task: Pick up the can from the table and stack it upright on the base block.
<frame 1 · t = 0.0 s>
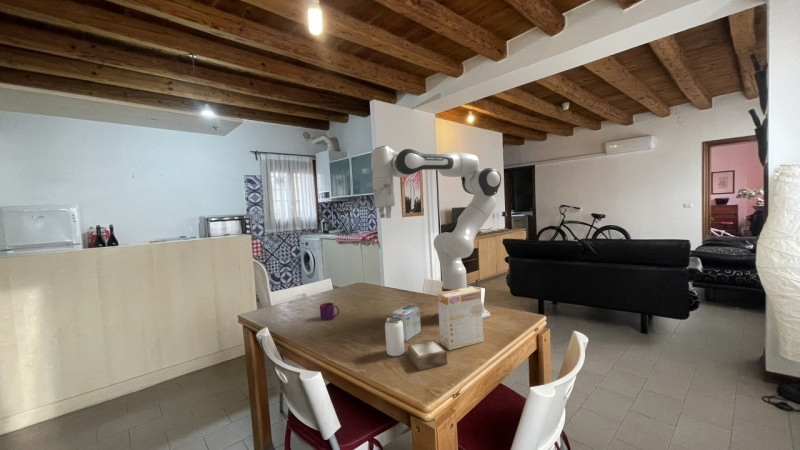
hand: (385, 218, 131), 48 cm above the table, tool pointing down, fingers open, 8 cm apart
base block: (427, 360, 103), on the table
light bulb box: (407, 335, 126), on the table
can: (395, 353, 110), on the table
coffeecake box: (462, 343, 115), on the table
mug: (330, 318, 152), on the table
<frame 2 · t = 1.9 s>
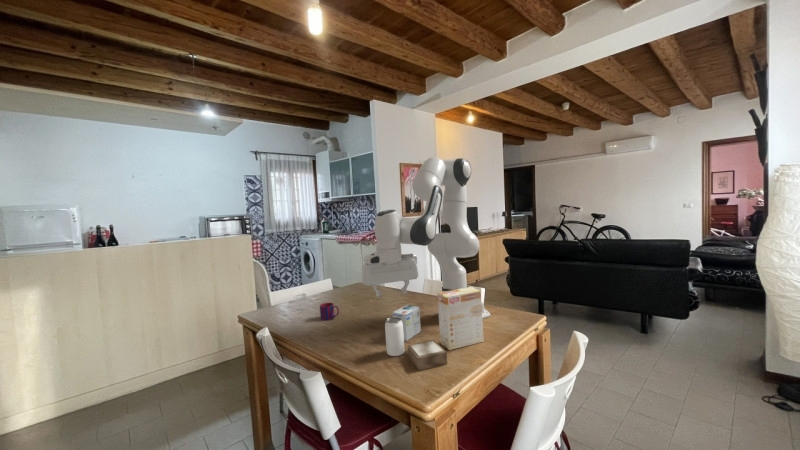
hand: (391, 294, 109), 21 cm above the table, tool pointing down, fingers open, 8 cm apart
nothing on the table moved.
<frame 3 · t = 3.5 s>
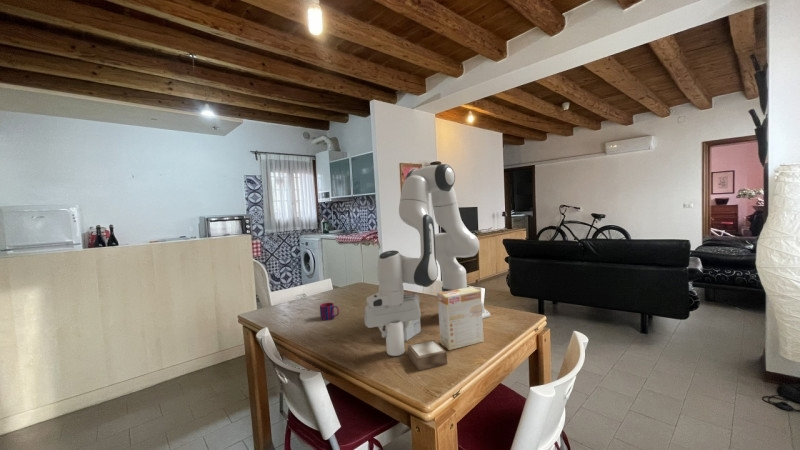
hand: (394, 335, 110), 6 cm above the table, tool pointing down, fingers closed on can, 6 cm apart
can: (395, 353, 110), on the table, touching gripper
everything else where it was.
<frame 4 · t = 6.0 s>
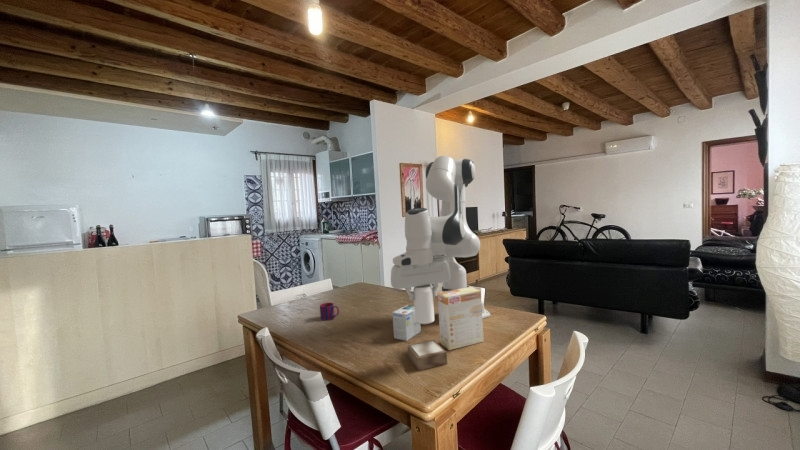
hand: (422, 298, 103), 21 cm above the table, tool pointing down, fingers closed on can, 6 cm apart
can: (425, 321, 103), point 13 cm above the table, touching gripper
everything else where it was.
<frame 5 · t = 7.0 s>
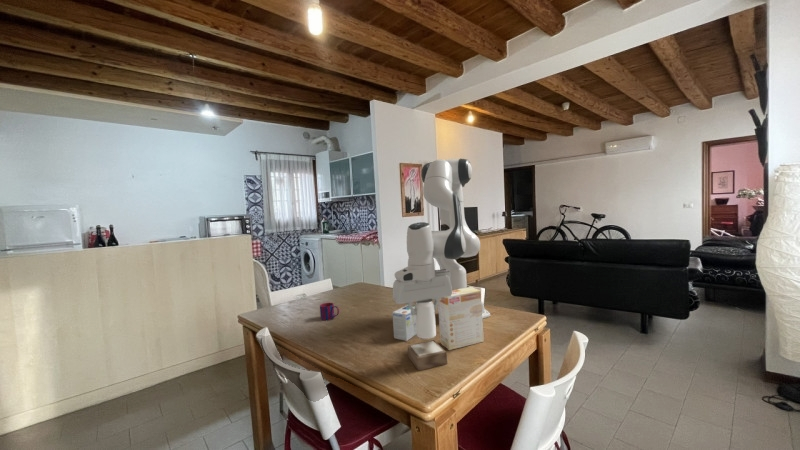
hand: (424, 312, 102), 16 cm above the table, tool pointing down, fingers closed on can, 6 cm apart
can: (426, 336, 103), point 8 cm above the table, touching gripper
everything else where it was.
when the fingers open (12 cm above the table, at t = 8.3 s): can stays where it is, resting on base block.
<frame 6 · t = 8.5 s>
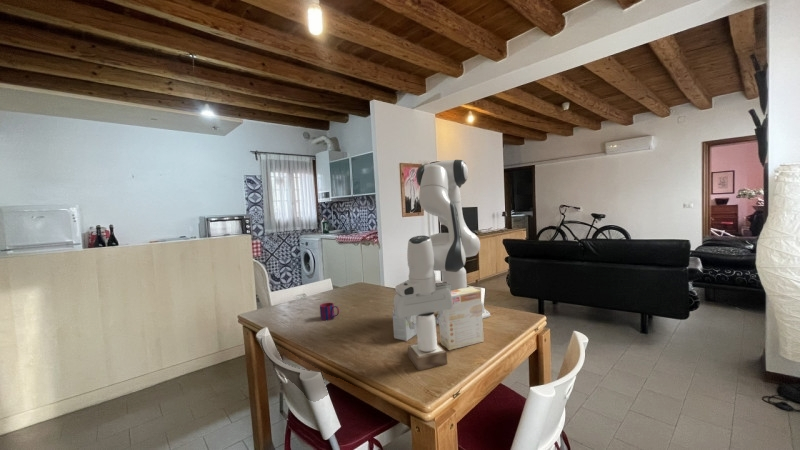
hand: (424, 326, 103), 12 cm above the table, tool pointing down, fingers open, 8 cm apart
can: (427, 348, 103), point 4 cm above the table, touching base block
everything else where it was.
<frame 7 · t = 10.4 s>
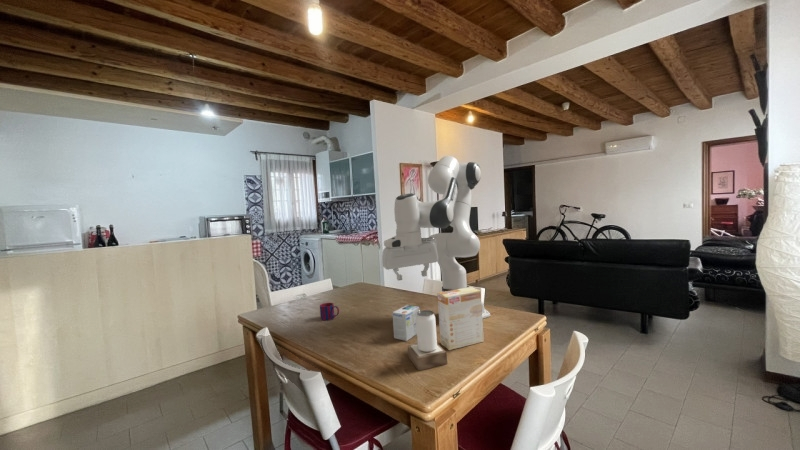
hand: (412, 278, 110), 26 cm above the table, tool pointing down, fingers open, 8 cm apart
nothing on the table moved.
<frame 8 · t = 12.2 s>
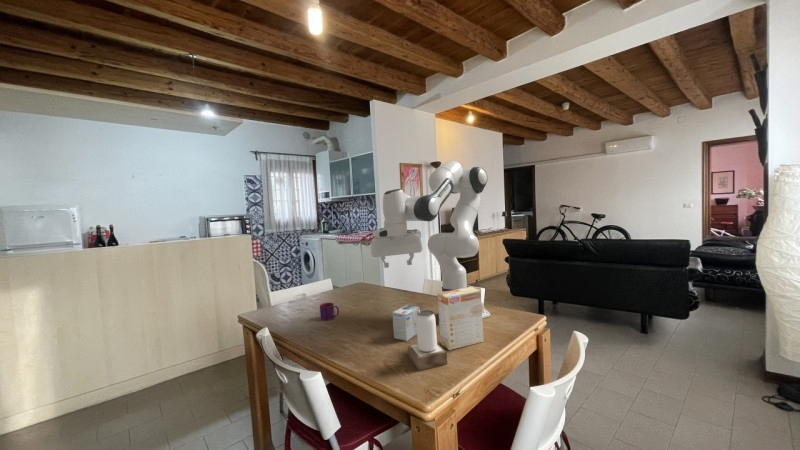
hand: (398, 266, 120), 29 cm above the table, tool pointing down, fingers open, 8 cm apart
nothing on the table moved.
at the end: can inside the target area on the base block (0.4 cm from its centre), point 4.1 cm above the base block's base; can tilted 0°; the gripper is holding nothing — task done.
